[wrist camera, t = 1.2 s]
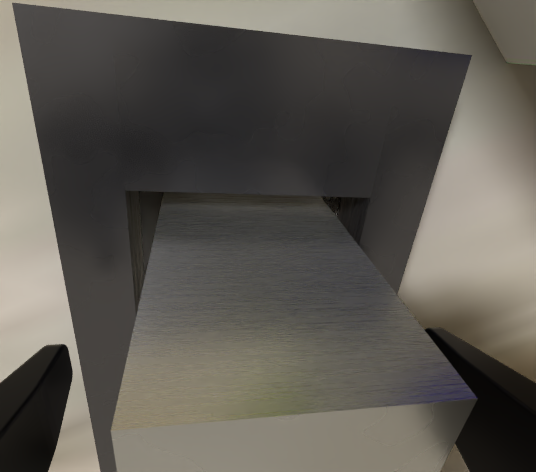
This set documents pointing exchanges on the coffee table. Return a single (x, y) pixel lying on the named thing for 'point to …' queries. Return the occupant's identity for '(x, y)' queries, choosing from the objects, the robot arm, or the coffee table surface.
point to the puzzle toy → (511, 27)
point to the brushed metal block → (277, 350)
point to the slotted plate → (217, 147)
